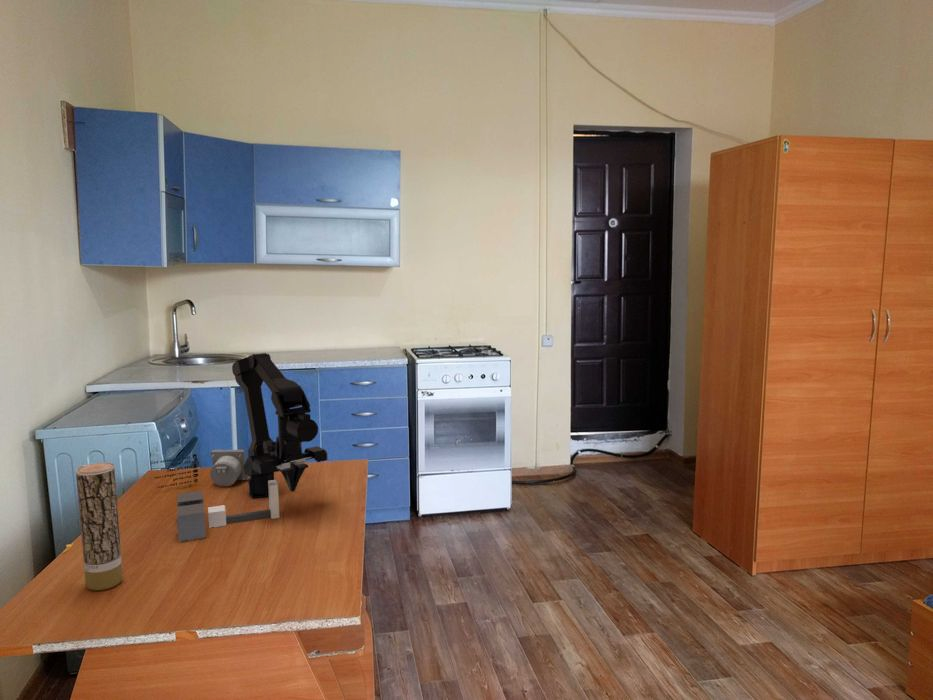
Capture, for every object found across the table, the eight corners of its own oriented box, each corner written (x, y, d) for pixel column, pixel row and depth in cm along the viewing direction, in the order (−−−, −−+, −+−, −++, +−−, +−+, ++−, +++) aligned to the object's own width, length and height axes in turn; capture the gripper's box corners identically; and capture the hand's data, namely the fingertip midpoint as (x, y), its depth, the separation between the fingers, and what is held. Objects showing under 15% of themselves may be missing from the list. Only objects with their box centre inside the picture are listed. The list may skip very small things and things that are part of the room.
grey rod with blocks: (277, 512, 176) (275, 479, 175) (279, 517, 172) (277, 484, 171) (208, 522, 169) (206, 488, 168) (209, 528, 166) (207, 493, 165)
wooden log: (107, 593, 134) (97, 474, 130) (78, 590, 135) (67, 471, 132) (130, 577, 140) (121, 463, 137) (102, 574, 142) (93, 461, 138)
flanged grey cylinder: (243, 474, 207) (241, 443, 206) (254, 484, 198) (253, 452, 196) (150, 491, 192) (148, 458, 191) (158, 503, 183) (155, 468, 181)
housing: (203, 514, 175) (202, 490, 174) (205, 538, 160) (204, 512, 159) (179, 518, 172) (177, 494, 171) (178, 542, 158) (177, 516, 157)
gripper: (307, 422, 185) (309, 476, 187) (242, 433, 173) (245, 491, 175) (327, 429, 176) (329, 486, 178) (260, 442, 164) (263, 503, 166)
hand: (292, 491), depth 175 cm, fingers closed
